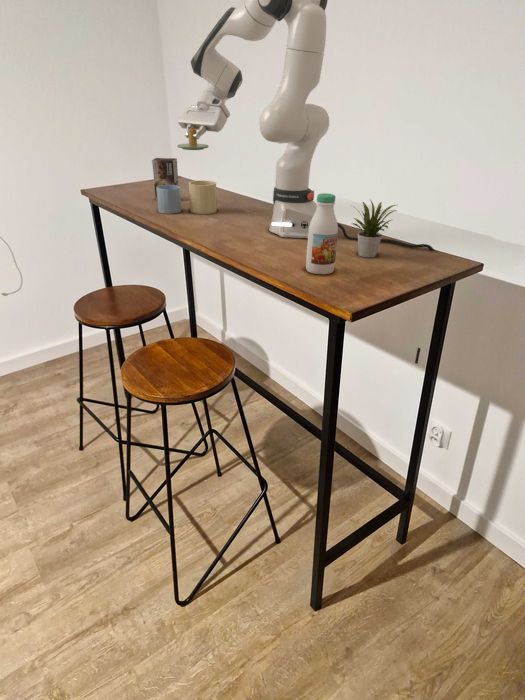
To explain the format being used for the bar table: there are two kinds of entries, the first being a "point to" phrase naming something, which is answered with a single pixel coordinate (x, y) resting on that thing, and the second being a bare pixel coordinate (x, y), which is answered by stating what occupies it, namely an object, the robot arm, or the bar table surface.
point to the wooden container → (202, 197)
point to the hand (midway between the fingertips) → (191, 137)
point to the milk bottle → (322, 237)
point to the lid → (192, 142)
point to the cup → (168, 199)
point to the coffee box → (165, 172)
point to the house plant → (371, 230)
